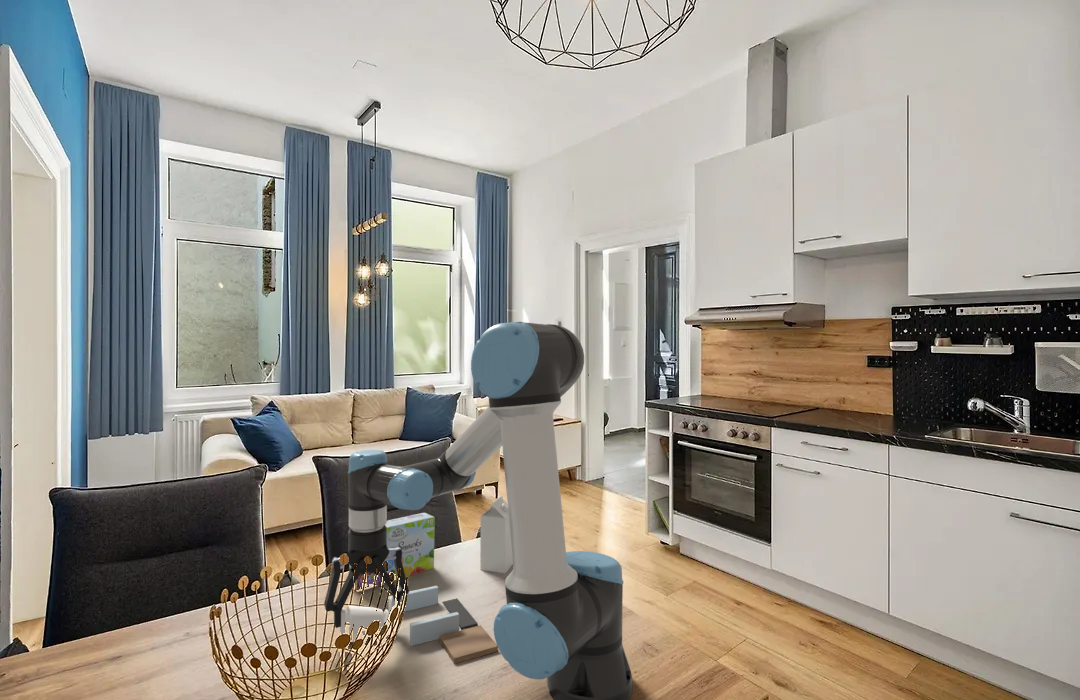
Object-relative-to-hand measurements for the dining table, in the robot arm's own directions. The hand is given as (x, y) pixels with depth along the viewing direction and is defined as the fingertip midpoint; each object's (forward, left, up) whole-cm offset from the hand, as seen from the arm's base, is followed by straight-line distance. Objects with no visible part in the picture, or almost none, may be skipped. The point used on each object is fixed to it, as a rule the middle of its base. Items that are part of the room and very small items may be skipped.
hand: (367, 635), depth 111 cm
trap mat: (0, -20, 0) cm, 20 cm away
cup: (-1, -4, +1) cm, 4 cm away
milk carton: (+19, -37, -1) cm, 42 cm away
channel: (0, -12, 0) cm, 12 cm away
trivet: (-13, -17, 0) cm, 21 cm away
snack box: (+25, -11, -1) cm, 27 cm away
